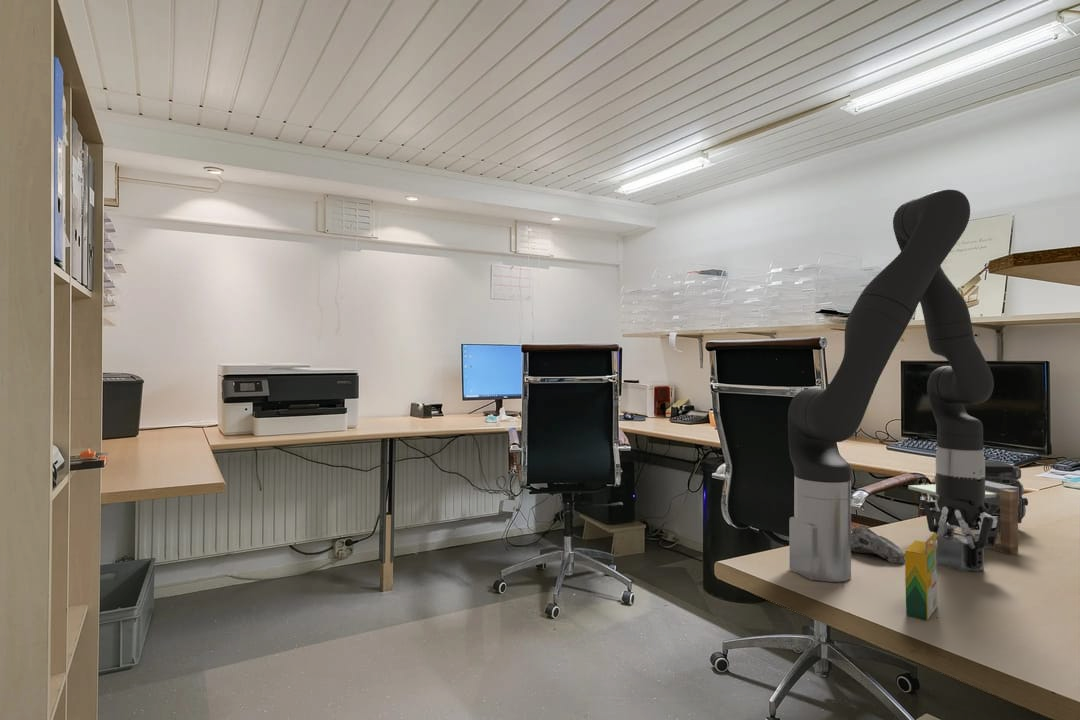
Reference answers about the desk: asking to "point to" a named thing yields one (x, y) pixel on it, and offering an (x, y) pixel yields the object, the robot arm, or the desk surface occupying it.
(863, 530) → the fossilized seashell
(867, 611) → the desk surface
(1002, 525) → the frame
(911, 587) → the crayon box
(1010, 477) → the camera
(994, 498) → the trapdoor
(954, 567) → the iron cube
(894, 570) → the desk surface
